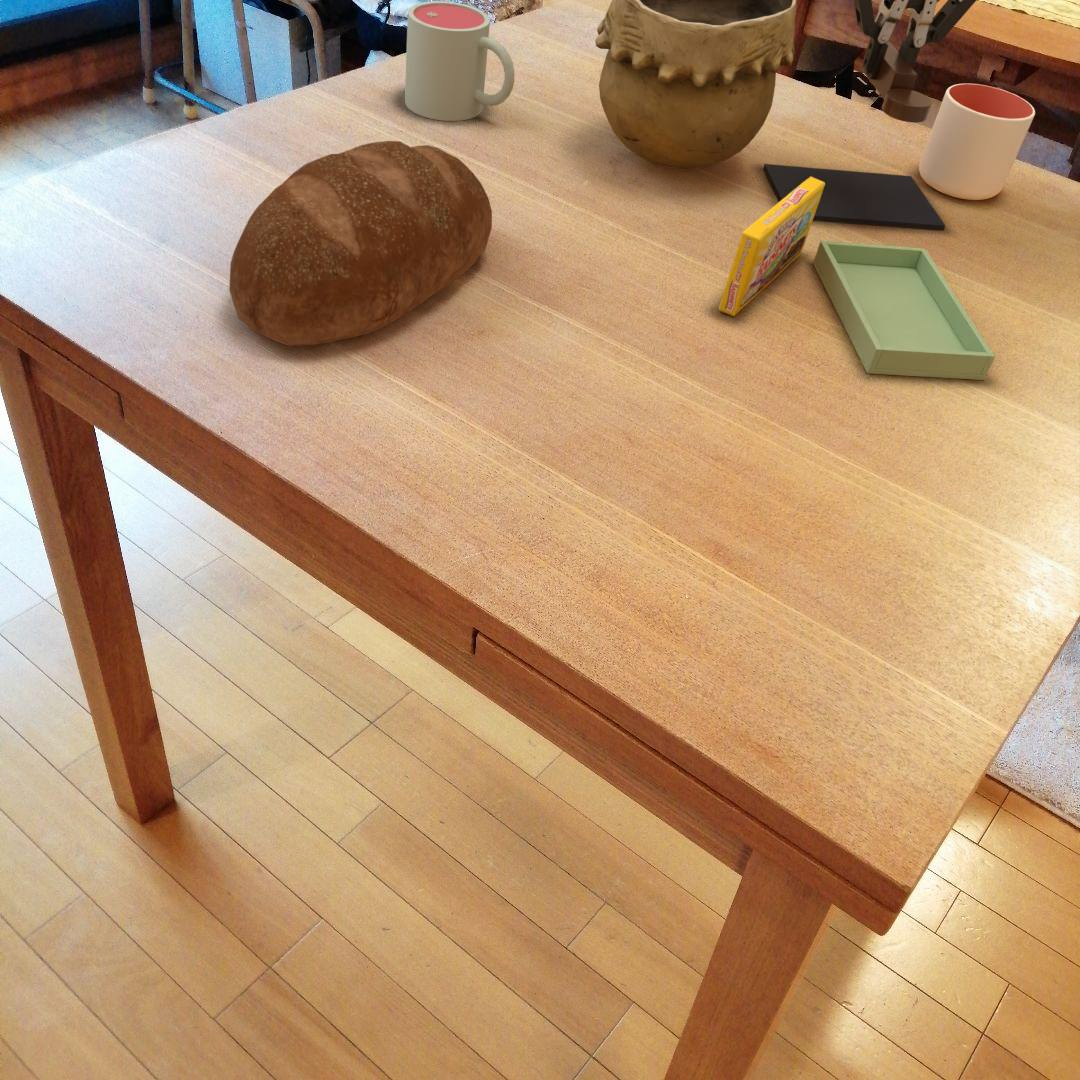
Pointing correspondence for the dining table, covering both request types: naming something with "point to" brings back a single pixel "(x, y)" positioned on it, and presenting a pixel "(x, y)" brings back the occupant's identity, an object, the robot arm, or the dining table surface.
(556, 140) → the dining table surface
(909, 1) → the robot arm
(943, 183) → the cup
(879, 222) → the mat
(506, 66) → the mug
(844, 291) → the tray
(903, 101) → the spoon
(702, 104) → the clay pot
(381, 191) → the bread
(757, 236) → the candy box
